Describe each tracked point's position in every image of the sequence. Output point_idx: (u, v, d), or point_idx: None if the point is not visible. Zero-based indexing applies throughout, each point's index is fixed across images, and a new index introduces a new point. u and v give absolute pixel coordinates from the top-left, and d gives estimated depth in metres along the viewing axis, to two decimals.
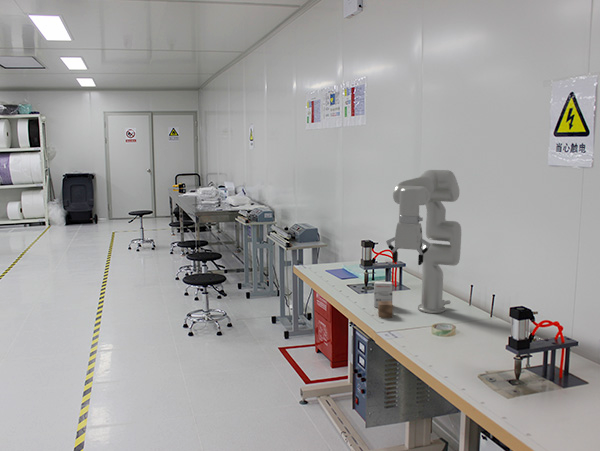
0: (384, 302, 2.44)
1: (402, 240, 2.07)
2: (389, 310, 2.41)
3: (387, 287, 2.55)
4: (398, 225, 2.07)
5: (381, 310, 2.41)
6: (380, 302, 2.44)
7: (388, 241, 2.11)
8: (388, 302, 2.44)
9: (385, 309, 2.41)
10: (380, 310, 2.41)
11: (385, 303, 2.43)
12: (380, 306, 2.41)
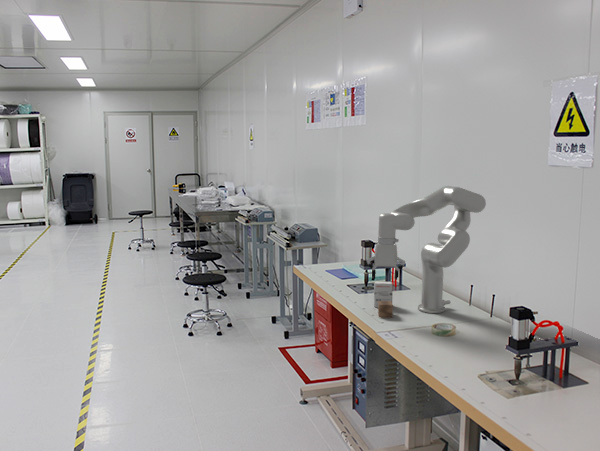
0: (384, 302, 2.44)
1: (382, 259, 2.38)
2: (389, 310, 2.41)
3: (387, 287, 2.55)
4: (378, 246, 2.38)
5: (381, 310, 2.41)
6: (380, 302, 2.44)
7: (368, 260, 2.40)
8: (388, 302, 2.44)
9: (385, 309, 2.41)
10: (380, 310, 2.41)
11: (385, 303, 2.43)
12: (380, 306, 2.41)
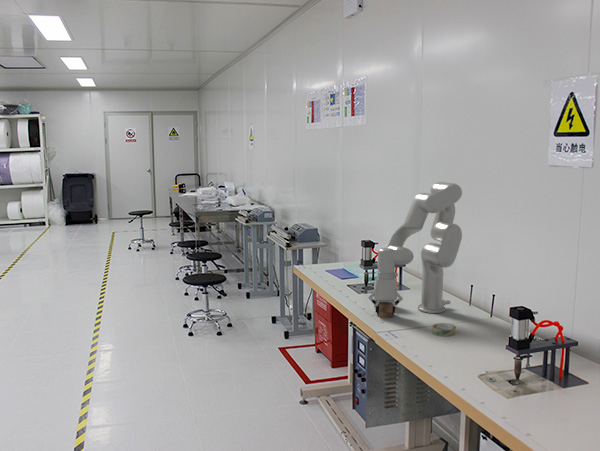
0: (384, 302, 2.44)
1: (382, 293, 2.40)
2: (389, 310, 2.41)
3: None
4: (378, 281, 2.40)
5: (381, 310, 2.41)
6: (380, 302, 2.44)
7: (370, 297, 2.43)
8: (388, 302, 2.44)
9: (385, 309, 2.41)
10: (380, 310, 2.41)
11: (385, 303, 2.43)
12: (380, 306, 2.41)
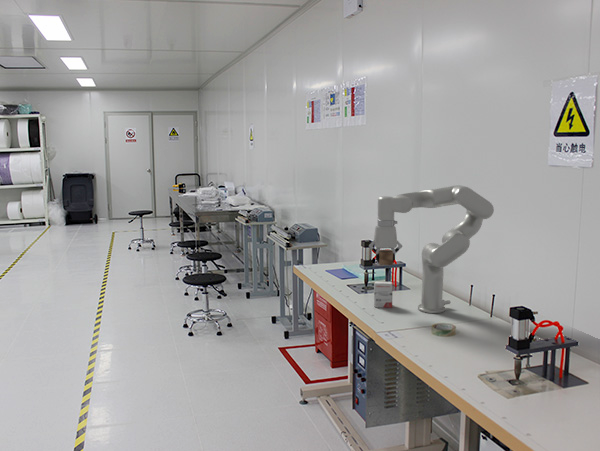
0: (384, 250, 2.48)
1: (382, 240, 2.44)
2: (389, 257, 2.45)
3: (387, 287, 2.55)
4: (378, 228, 2.44)
5: (381, 258, 2.45)
6: (380, 250, 2.48)
7: (370, 245, 2.47)
8: (388, 250, 2.48)
9: (385, 256, 2.45)
10: (381, 257, 2.45)
11: (385, 251, 2.47)
12: (381, 253, 2.45)
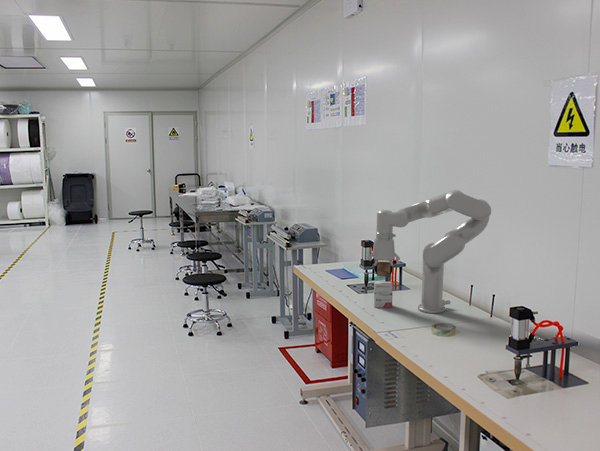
0: (382, 262, 2.57)
1: (380, 253, 2.53)
2: (387, 269, 2.53)
3: (387, 287, 2.55)
4: (377, 241, 2.52)
5: (379, 269, 2.53)
6: (378, 262, 2.56)
7: (369, 257, 2.55)
8: (386, 262, 2.57)
9: (383, 268, 2.53)
10: (378, 269, 2.53)
11: (383, 263, 2.55)
12: (378, 265, 2.53)
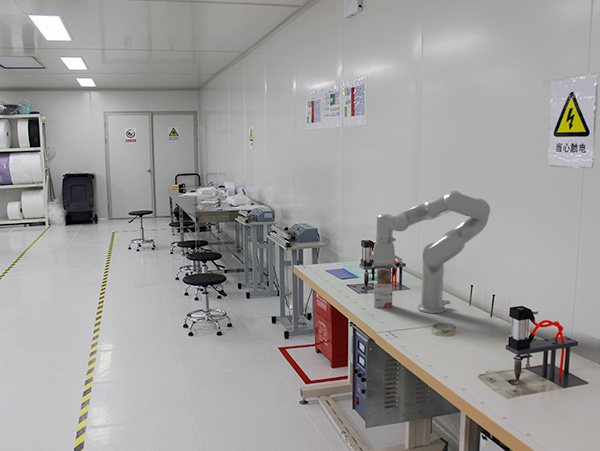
0: (383, 269, 2.57)
1: (381, 257, 2.53)
2: (387, 277, 2.53)
3: (386, 287, 2.55)
4: (377, 245, 2.53)
5: (379, 277, 2.54)
6: (379, 269, 2.57)
7: (367, 259, 2.55)
8: (386, 269, 2.57)
9: (383, 275, 2.53)
10: (379, 277, 2.54)
11: (383, 270, 2.55)
12: (379, 273, 2.53)
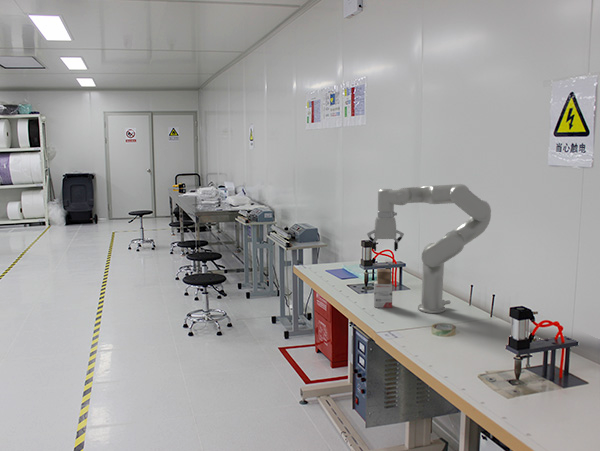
0: (383, 269, 2.57)
1: (382, 231, 2.52)
2: (387, 277, 2.53)
3: (386, 287, 2.55)
4: (378, 220, 2.52)
5: (380, 277, 2.54)
6: (379, 269, 2.57)
7: (369, 234, 2.55)
8: (386, 269, 2.57)
9: (383, 275, 2.53)
10: (379, 277, 2.54)
11: (384, 270, 2.55)
12: (379, 273, 2.53)
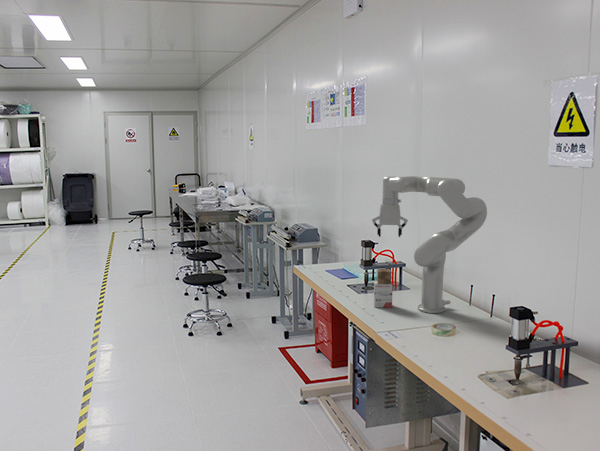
0: (383, 269, 2.57)
1: (387, 218, 2.61)
2: (387, 277, 2.53)
3: (386, 287, 2.55)
4: (383, 206, 2.61)
5: (380, 277, 2.54)
6: (379, 269, 2.57)
7: (374, 220, 2.63)
8: (386, 269, 2.57)
9: (383, 275, 2.53)
10: (379, 277, 2.54)
11: (384, 270, 2.55)
12: (379, 273, 2.53)
